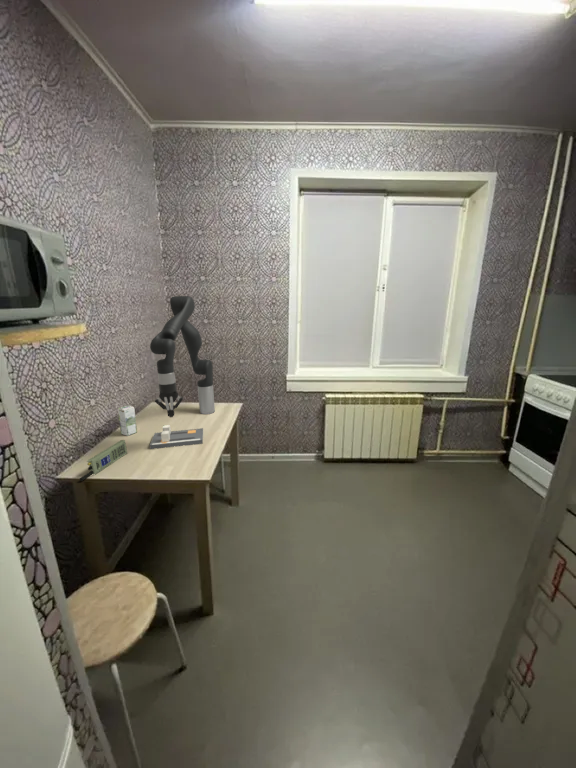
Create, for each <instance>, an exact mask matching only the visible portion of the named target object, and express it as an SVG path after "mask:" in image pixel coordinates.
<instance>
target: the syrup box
mask: <svg viewBox="0 0 576 768" xmlns="http://www.w3.org/2000/svg"><path fill="white" fill-rule="evenodd" d="M135 411H136V410H135V407H134V406H131V405H125V406H122V407H118V408H117V413H118V422H119V428H120V434H121V435H124V436H127V437H128V436H132V435H134V434H136V433H138V428H137V419H136V412H135Z"/></svg>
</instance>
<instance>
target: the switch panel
mask: <svg viewBox="0 0 576 768" xmlns="http://www.w3.org/2000/svg"><path fill="white" fill-rule="evenodd" d="M161 433H162V431H161V432H160V431H159V432H154V434H153V435H152V438H151V441H150V443H149V450H155V449H154V448H157V449H164V448H165V447H166V448H173V447H174V446H175V447H182V446H183V445H185V446H193V444H194V445H200V444H201V445H202V444H204V442H203V441H204V428H203V427H202V428H192V429H184V430H183V429H182V430H171V433H170V440H169V441H167V442H162V438H161ZM183 447H184V446H183Z"/></svg>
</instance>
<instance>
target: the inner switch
mask: <svg viewBox="0 0 576 768" xmlns="http://www.w3.org/2000/svg"><path fill="white" fill-rule="evenodd" d="M162 431H169V434H170V433H171V431H172V429H171V424H167V425H166V424H165V425H163V426H162Z"/></svg>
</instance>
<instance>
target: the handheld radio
mask: <svg viewBox="0 0 576 768" xmlns="http://www.w3.org/2000/svg"><path fill="white" fill-rule="evenodd" d="M127 454H128V450H127V445H126V440H125V439H121V440H119V441H117V442H115V443H114V444H112V445H110V446H109V447H107V448H106V449H103V450H102V451H100V452H99V453H97V454H96V455H94V456H92V457H90V458H89V459H88V460H86V462H87V465H88V468H87V470H89V472H87V473H86V474H84V475H83V476H81V477H80V478H79V481H80V482H82V481H84V480H86V479H87V478H89V477H90V475H92V474H95V475H97V474H99V473H100V472H101V471H103V470H104V469H106V468H108V467H109V466H111V465H112V464H114V463H115V462H116V461H118V460H120V459H121V458H122V457H124V456H125V455H127ZM102 469H103V470H102ZM96 473H97V474H96Z"/></svg>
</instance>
